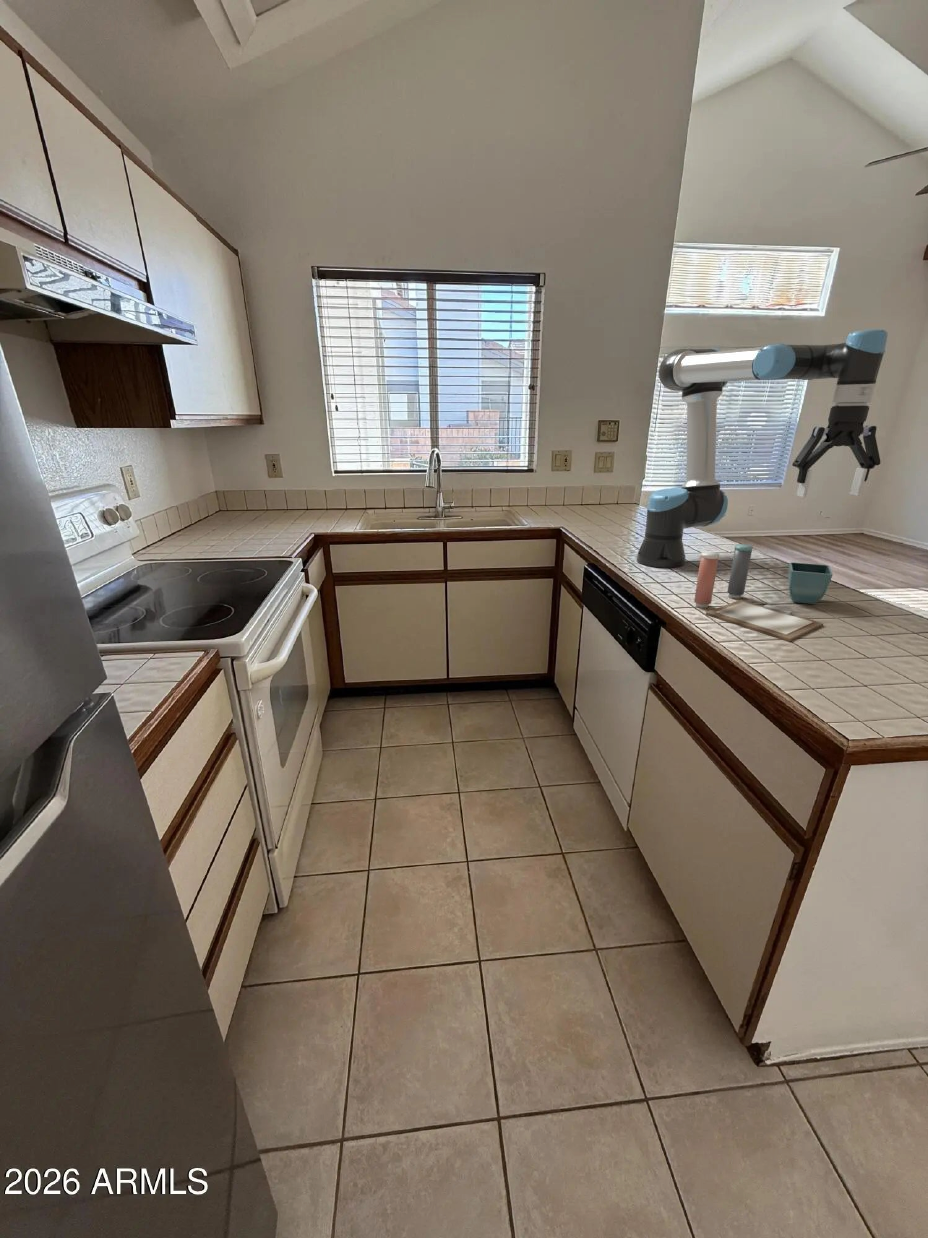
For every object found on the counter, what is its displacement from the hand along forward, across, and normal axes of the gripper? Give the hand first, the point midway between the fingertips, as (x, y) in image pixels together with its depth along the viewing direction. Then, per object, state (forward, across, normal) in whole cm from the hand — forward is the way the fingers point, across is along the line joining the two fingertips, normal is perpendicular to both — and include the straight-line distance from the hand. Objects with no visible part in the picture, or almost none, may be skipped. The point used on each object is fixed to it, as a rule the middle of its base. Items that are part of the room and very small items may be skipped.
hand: (827, 495), depth 130 cm
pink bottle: (+26, -31, -8) cm, 41 cm away
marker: (+26, -20, -2) cm, 33 cm away
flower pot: (+26, -4, -6) cm, 27 cm away
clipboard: (+26, -21, -18) cm, 38 cm away
